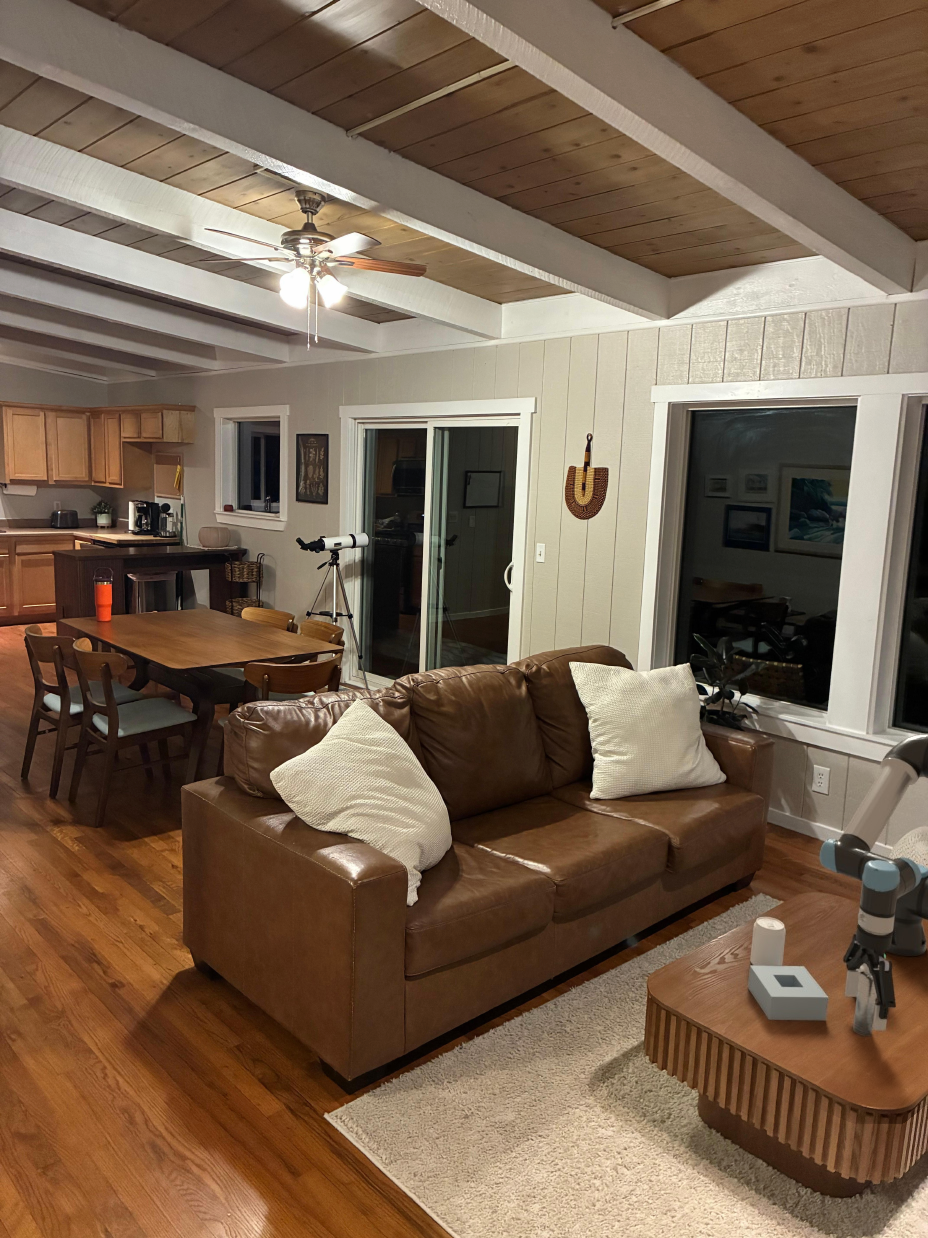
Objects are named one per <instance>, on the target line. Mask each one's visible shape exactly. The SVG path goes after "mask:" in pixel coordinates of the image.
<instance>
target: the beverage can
mask: <svg viewBox="0 0 928 1238" xmlns="http://www.w3.org/2000/svg"><path fill="white" fill-rule="evenodd" d="M786 932H787V930H786V928H785V924H784V922H782V921H781V920H779V919H777V918H775V917H770V916H759V917H758V918H756V921H755V922H754V923H753V929H752V939H751V950H750V957H749V959H750V962H751V964H752V966H783V961H784V950H785V942H786Z"/></svg>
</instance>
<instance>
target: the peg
mask: <svg viewBox="0 0 928 1238" xmlns="http://www.w3.org/2000/svg"><path fill="white" fill-rule="evenodd" d="M876 1001H877V998H876V990H875V986H874V981H873V976H872V974H870V972H867V971H863V972H860V975H859V983H858V991H857V997H856V1002H855V1009H854V1017H853V1027H852V1030H853V1031H854V1032H855V1033H856V1034H858V1035H860V1036H862V1037H863V1036H864V1037H869V1036H871V1035H872V1031H873V1020H874V1012H875V1003H876Z"/></svg>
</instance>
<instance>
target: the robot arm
mask: <svg viewBox="0 0 928 1238" xmlns="http://www.w3.org/2000/svg"><path fill="white" fill-rule="evenodd" d="M879 766H880V769H881V770H880V772H879V773H878V775H877V777H875V780H874V782H872V784H871V787H870V788H869V790H868V791H867V793H866V795H865V796H864V798H863V800H862V801H861V803H860V805H859V806H858V807H857V809H856V811H855V813H854V814H853V816H852V818H851V820H850V821H849V823H848V824H847V826H846V828H845V830H844V831H843V832H842V834H841V836H840V837H839V838H838V839H833V838H827V839H826V840H825V841H824V842H823V844H822V845H821V848H820V851H819V861H820V864H821V865H822V867H823V868H825V869H827V870H830V871H832V872H834V873H836V874H840V875H843V876H846V877H850V878H852V879H855V880H857V881H860V882H862V883H861V891H860V900H859V901H860V902H859V909H858V914H857V923H858V924H857V925H856V933H853V934H852V940H851V942H850V944H849V946H848V948H847V950H846V952H845V954H844V956H843V958H842V961H843V963H846V965H845V967H846V969H847V972H846V980H845V981H846V982H845V990H844V996H845V997H846V998H847V997H849V998H850V997H852V998H853V997H854V998H857V991H858V983H859V975H860V972H859V970H856V969H860V967H861V966H862V965H863V964H864V963H865V964H866V965H867V966H868V968H869V972H870V974H872V976H873V981H874V986H875V990H876V995H877V998H876V1000H877V1001H875V1008H874V1016H873V1024H872V1031H873V1030H874V1031H886V1030H887V1029H886V1028H887V1024H888V1023H887V1021H888V1016H889V1015H888V1014H889V1008H892V1009H893V1008H896V1007H897V1002H896V996H895V995H896V994H895V986H894V978H893V961H891V960H886V957H884V954H885V952H887V953H890V954H894V955H898V956H904V957H917V956H921V955H924V954H925V953H926V951H927V939H926V933H925V930H924V925H923V919H924V920H927V921H928V867H925V865H922V864H920V863H916V862H915V861H913V860H912V859H910V858H908V857H905V856H904V857H903V856H901V857H896V858H890V857H887V856H884V855H881V854H877V853H875V852H873V851H872V849H873V848H874V846H875V844H876V842H877V841H878V839H879V838H880V836H881V834H882V832H883V831H884V829H885V828H886V826H887V824H888V822H889V820H890V819H891V817H892V816H893V814H894V811H895V810H896V809H897V808H898V805H899V803H900V802H901V801H902V799H903V796H904V795H905V793H906V792H907V790H908V789H909V787H910V786H912V785H915V784H916V783H917V782H918V781H919V779H920V778H926V779H928V733H920V734H915V735H912V736H910V737H907V738H905V739H902V740H901V741H900V742H897V744H895V745H893V747H891V749H890V750H889V751H888V752H886V754H885V755H884V757H883V759H882V760H881V762H880V765H879ZM878 968H879V970H874V969H878Z"/></svg>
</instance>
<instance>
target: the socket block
mask: <svg viewBox="0 0 928 1238" xmlns="http://www.w3.org/2000/svg"><path fill="white" fill-rule="evenodd" d="M748 972H749V973H748V980H747V981H748V982H747V989H748V990H749V991H750V993H751V994H752V996H753V997H754V999H755V1000H756V1002H757V1004H758V1005H759V1006H760V1008H761V1010H762V1011H763V1013H764V1014H765V1016H766V1017H767V1019H768V1020H770V1021H775V1020H776V1021H778V1020H779V1021H827V1013H828V1003H829V996H828V994H827V993H825V991H824V989H823V988H822V987H821V986H820V984H819V983H818V982H817V981H816V980H815V978H814V977H813V976H812V975H811V974H810V972H809V971H808V969H807V968H806V967H805V966H804V965H801V966H798V965H797V966H796V965H782V966H754V965H749V971H748Z"/></svg>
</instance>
